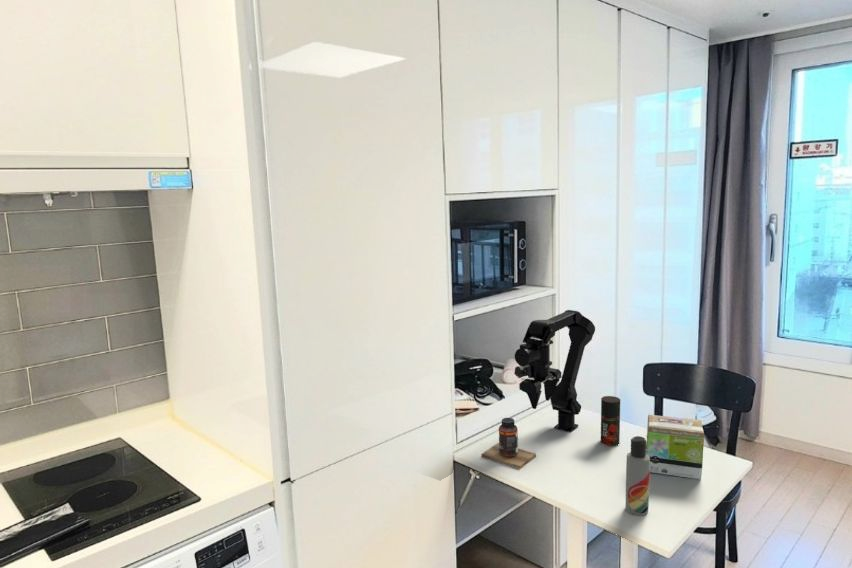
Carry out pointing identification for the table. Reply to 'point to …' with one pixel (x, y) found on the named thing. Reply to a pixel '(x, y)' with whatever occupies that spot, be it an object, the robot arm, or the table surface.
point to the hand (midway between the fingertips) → (540, 404)
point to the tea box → (675, 446)
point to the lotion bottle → (637, 477)
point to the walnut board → (515, 461)
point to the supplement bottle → (508, 438)
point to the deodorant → (610, 420)
